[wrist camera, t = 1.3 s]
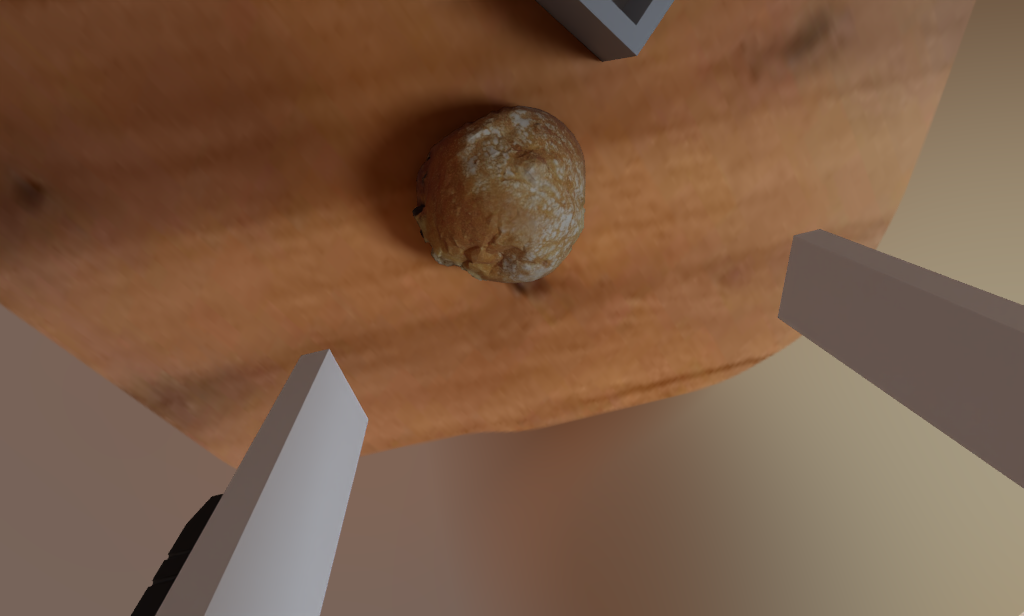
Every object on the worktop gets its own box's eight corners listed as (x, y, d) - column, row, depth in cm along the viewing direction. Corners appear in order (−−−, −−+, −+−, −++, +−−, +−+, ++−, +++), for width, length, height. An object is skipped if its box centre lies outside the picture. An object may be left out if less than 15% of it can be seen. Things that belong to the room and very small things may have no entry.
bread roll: (546, 239, 30) (625, 266, 24) (427, 290, 26) (486, 340, 20) (526, 96, 25) (621, 86, 19) (375, 133, 21) (433, 134, 15)
